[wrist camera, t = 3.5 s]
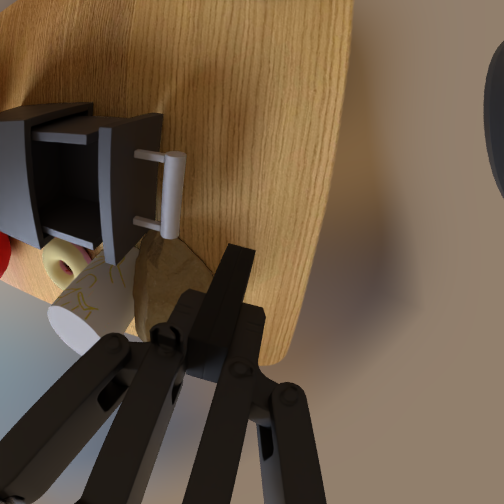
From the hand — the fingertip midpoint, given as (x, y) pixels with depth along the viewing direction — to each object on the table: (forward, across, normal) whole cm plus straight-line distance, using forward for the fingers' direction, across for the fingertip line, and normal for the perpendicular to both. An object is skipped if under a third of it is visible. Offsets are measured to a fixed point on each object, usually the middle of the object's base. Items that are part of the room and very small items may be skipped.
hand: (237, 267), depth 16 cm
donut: (+12, -25, -16) cm, 32 cm away
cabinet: (+12, -27, 0) cm, 29 cm away
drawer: (+11, -15, 0) cm, 18 cm away
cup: (+12, -15, -14) cm, 24 cm away
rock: (+12, -7, -10) cm, 17 cm away
